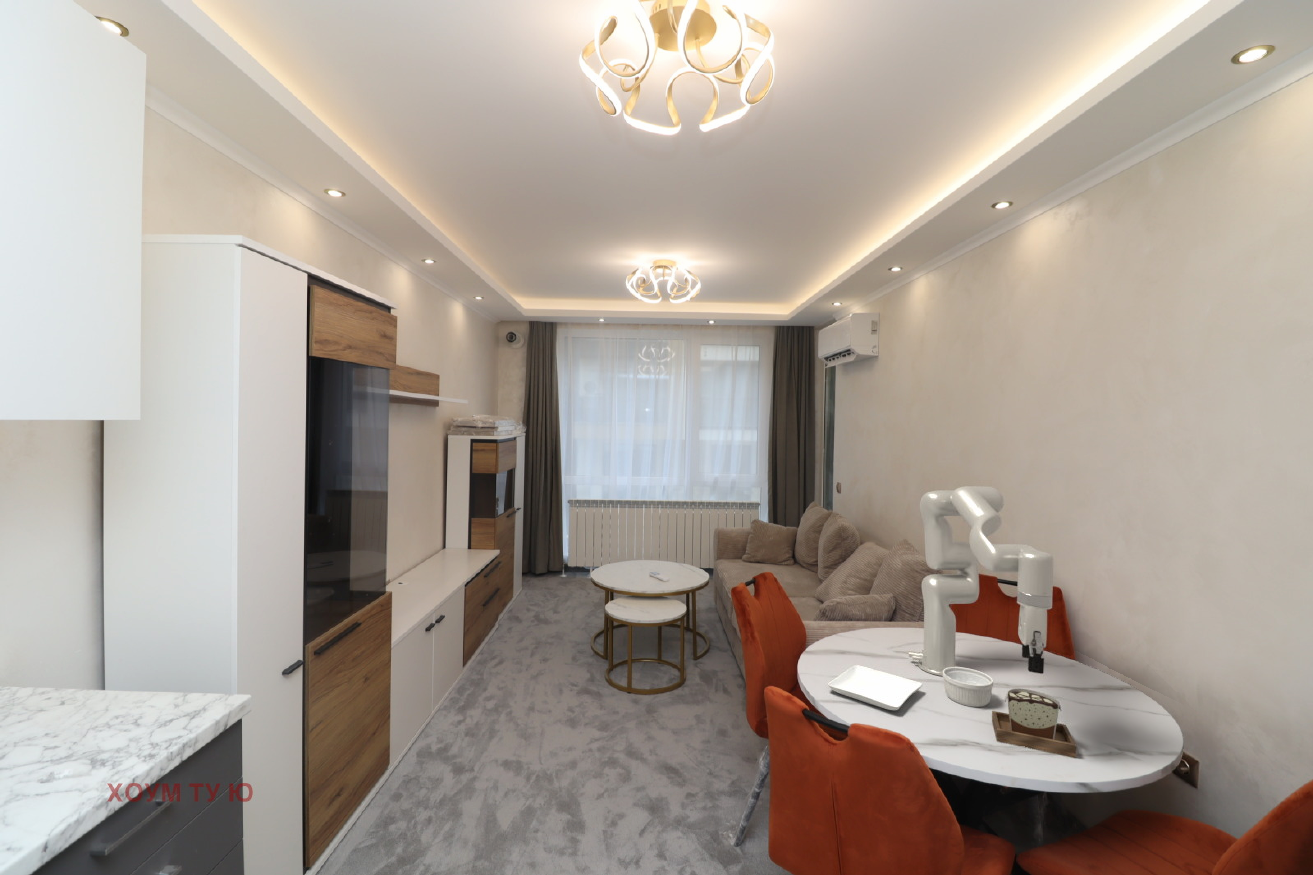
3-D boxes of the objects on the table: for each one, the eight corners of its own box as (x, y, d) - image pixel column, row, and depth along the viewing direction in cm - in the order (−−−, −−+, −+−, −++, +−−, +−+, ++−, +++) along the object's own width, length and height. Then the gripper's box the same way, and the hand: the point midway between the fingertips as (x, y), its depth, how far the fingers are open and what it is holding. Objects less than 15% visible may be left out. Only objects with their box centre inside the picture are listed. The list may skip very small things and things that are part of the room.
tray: (996, 741, 144) (997, 729, 144) (991, 721, 154) (992, 710, 154) (1076, 758, 137) (1076, 745, 137) (1065, 736, 147) (1065, 724, 147)
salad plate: (825, 694, 169) (825, 683, 169) (855, 673, 185) (855, 662, 185) (897, 719, 155) (898, 707, 155) (923, 694, 171) (923, 683, 171)
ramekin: (932, 693, 171) (932, 670, 171) (962, 685, 176) (963, 663, 176) (971, 713, 159) (972, 688, 159) (1003, 705, 164) (1003, 681, 164)
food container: (1053, 730, 148) (1054, 692, 148) (1061, 742, 142) (1061, 703, 142) (999, 721, 152) (1000, 684, 152) (1004, 732, 147) (1005, 693, 146)
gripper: (1012, 588, 155) (1010, 650, 155) (1022, 606, 139) (1020, 675, 139) (1045, 592, 152) (1043, 655, 152) (1059, 611, 136) (1057, 681, 136)
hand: (1032, 665), depth 146 cm, fingers open, 9 cm apart
